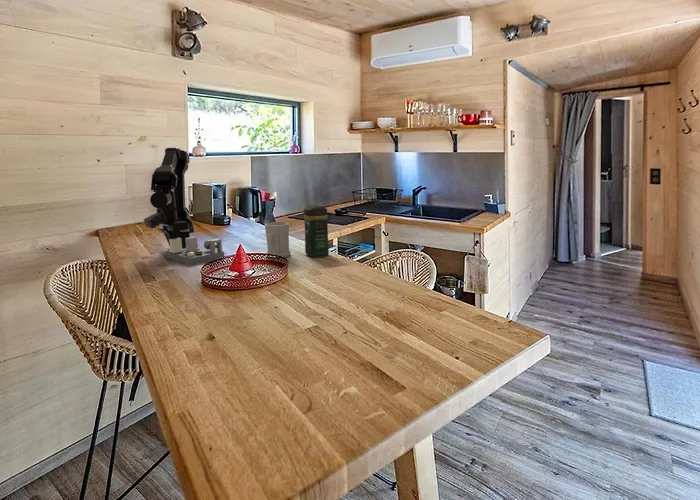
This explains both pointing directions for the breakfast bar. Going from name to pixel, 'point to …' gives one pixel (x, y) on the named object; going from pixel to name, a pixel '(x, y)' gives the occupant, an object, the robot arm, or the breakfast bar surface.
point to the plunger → (208, 245)
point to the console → (198, 254)
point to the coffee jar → (316, 231)
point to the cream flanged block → (175, 245)
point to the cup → (278, 238)
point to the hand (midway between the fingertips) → (171, 247)
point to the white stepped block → (191, 244)
